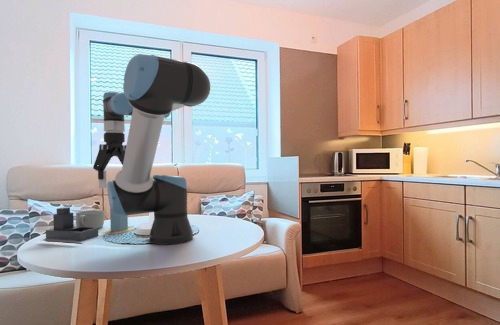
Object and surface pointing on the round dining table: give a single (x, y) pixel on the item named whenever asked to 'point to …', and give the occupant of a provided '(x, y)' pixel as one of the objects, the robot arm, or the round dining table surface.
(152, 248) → the round dining table surface
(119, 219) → the plug
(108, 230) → the board
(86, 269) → the round dining table surface
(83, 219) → the teacup
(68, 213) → the dark grey block holder
